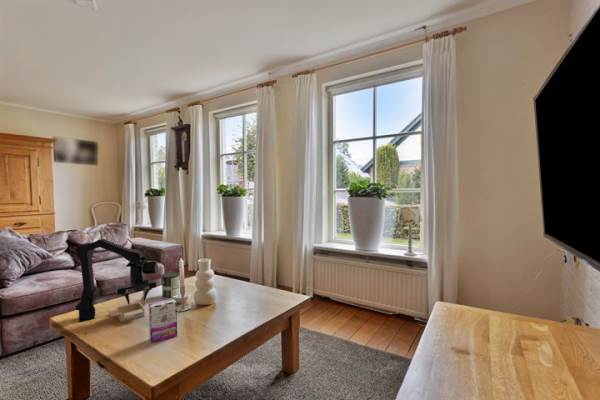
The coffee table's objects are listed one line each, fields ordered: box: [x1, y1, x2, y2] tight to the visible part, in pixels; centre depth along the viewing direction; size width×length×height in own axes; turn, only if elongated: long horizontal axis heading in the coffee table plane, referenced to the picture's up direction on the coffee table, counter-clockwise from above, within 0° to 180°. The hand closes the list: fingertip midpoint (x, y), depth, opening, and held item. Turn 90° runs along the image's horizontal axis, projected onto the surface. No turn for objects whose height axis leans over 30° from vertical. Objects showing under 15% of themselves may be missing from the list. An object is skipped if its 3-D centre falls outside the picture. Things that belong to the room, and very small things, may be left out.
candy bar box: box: [148, 298, 178, 344], centre depth 133 cm, size 11×5×16 cm, turn 126°
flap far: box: [139, 295, 147, 307], centre depth 160 cm, size 1×8×4 cm, turn 42°
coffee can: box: [161, 271, 180, 300], centre depth 185 cm, size 10×10×14 cm
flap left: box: [117, 298, 137, 307], centre depth 161 cm, size 8×1×4 cm
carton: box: [107, 302, 145, 323], centre depth 153 cm, size 15×15×4 cm
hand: (136, 303), depth 157 cm, fingers open, 7 cm apart
